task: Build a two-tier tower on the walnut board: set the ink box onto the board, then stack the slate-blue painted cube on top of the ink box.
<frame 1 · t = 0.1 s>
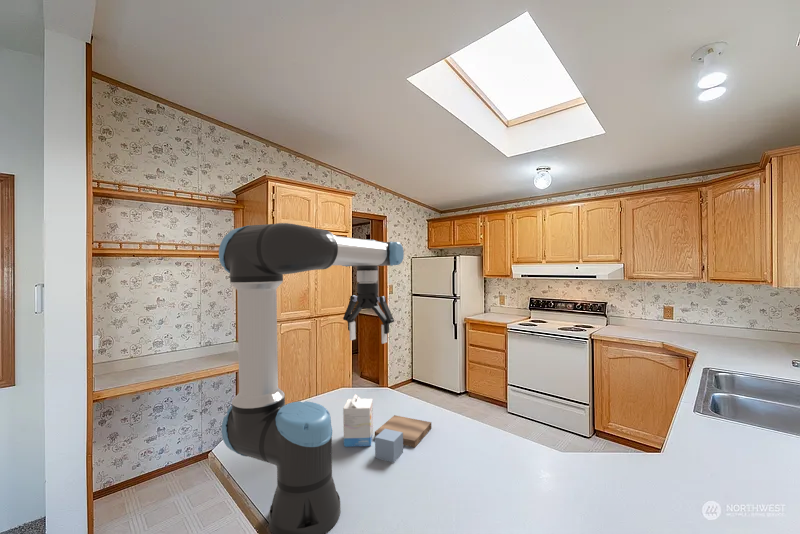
hand: (368, 341, 127), 28 cm above the counter, fingers open, 13 cm apart
cube: (389, 455, 102), on the counter
board: (403, 433, 115), on the counter
ink box: (359, 440, 111), on the counter
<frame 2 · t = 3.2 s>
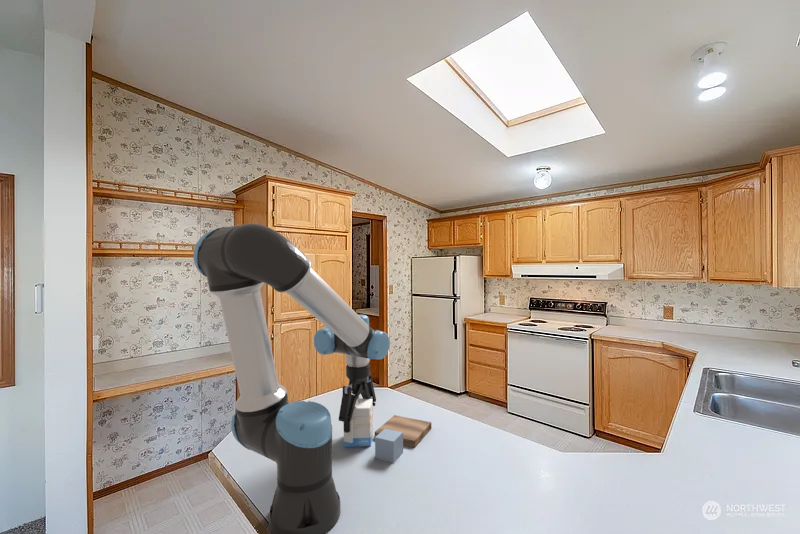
hand: (358, 433, 111), 2 cm above the counter, fingers closed on ink box, 11 cm apart
ink box: (359, 440, 111), on the counter, touching gripper
everything else where it was.
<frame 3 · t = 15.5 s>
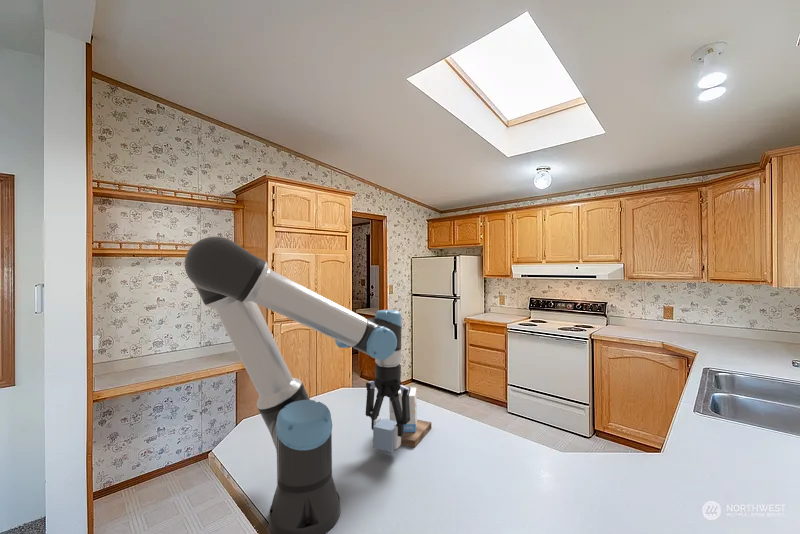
hand: (387, 443, 102), 3 cm above the counter, fingers closed on cube, 6 cm apart
cube: (387, 445, 102), point 3 cm above the counter, touching gripper
ink box: (403, 427, 116), point 2 cm above the counter, touching board
when the fingers open (16 cm above the counter, at t = 20.0 s): cube stays where it is, resting on ink box.
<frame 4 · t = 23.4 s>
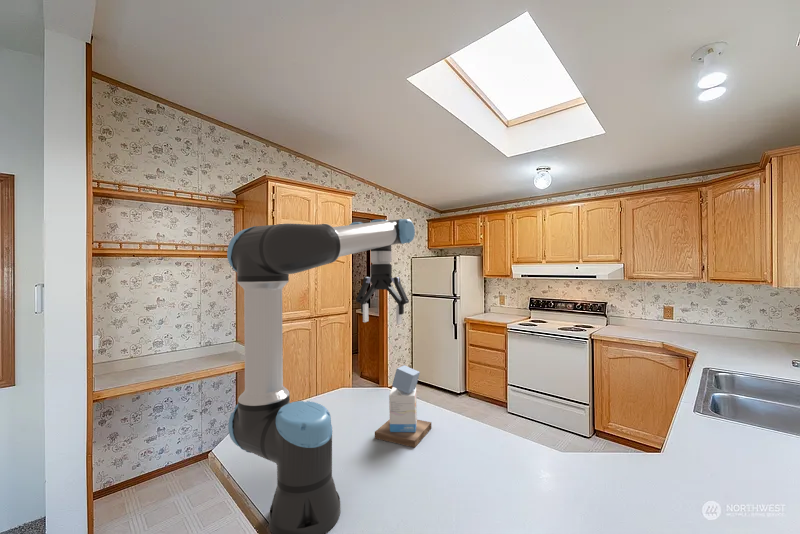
hand: (382, 322, 126), 35 cm above the counter, fingers open, 13 cm apart
cube: (403, 387, 115), point 15 cm above the counter, tilted 17°, touching ink box
ink box: (403, 427, 116), point 2 cm above the counter, touching board, cube
at the end: ink box inside the target area on the board (0.2 cm from its centre), point 1.8 cm above the board's base; ink box tilted 0°; cube inside the target area on the ink box (0.4 cm from its centre), point 13.2 cm above the ink box's base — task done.
